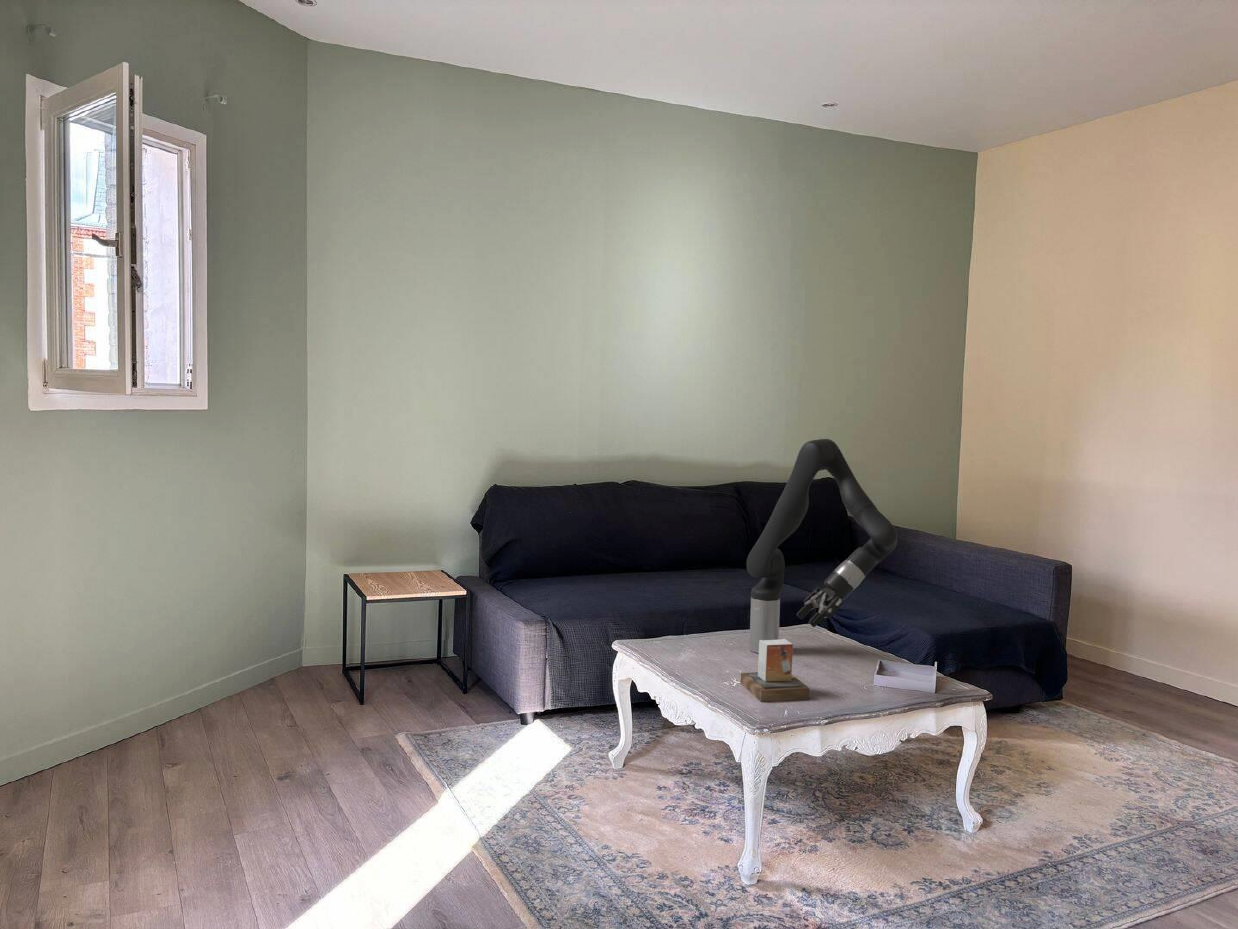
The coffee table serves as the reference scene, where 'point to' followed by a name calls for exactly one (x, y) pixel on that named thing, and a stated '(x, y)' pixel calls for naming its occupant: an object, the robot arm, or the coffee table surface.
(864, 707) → the coffee table surface
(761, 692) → the plinth
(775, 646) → the small box
